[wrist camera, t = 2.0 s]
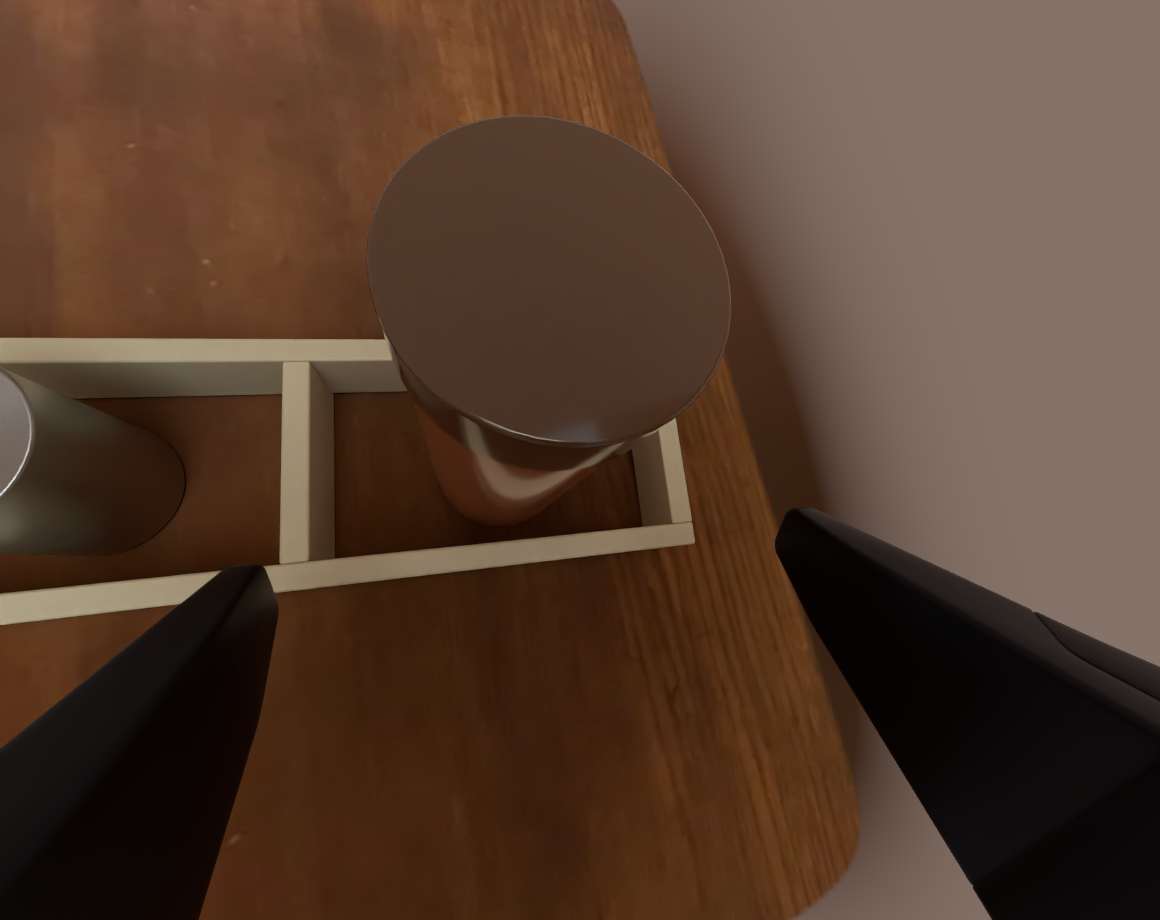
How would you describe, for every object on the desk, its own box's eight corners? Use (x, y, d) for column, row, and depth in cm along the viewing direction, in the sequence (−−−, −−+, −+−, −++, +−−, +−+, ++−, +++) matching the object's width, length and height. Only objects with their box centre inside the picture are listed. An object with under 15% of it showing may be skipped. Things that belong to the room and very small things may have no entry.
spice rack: (637, 370, 21) (663, 339, 18) (663, 547, 20) (696, 543, 17) (-132, 380, 15) (-275, 335, 12) (-187, 646, 13) (-368, 668, 10)
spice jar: (569, 522, 19) (762, 437, 7) (436, 535, 18) (369, 459, 5) (556, 402, 20) (702, 133, 8) (430, 405, 19) (361, 90, 6)
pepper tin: (182, 548, 16) (20, 536, 10) (16, 563, 15) (-273, 560, 9) (189, 423, 17) (44, 347, 11) (33, 428, 15) (-219, 347, 10)
